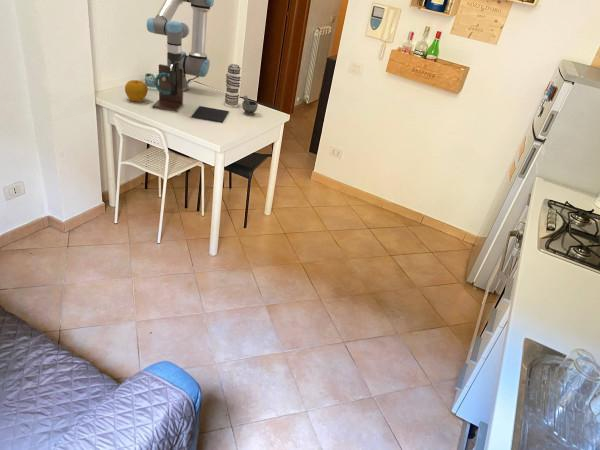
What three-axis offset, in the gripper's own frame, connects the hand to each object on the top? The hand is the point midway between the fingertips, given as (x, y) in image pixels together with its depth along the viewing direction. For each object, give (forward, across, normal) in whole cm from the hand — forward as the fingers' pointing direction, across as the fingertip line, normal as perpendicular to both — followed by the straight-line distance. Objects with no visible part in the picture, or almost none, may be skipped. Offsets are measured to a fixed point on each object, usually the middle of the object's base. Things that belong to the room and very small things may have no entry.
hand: (174, 94), depth 249 cm
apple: (+9, -6, -24) cm, 27 cm away
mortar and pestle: (+9, -16, +42) cm, 46 cm away
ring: (-5, 0, -5) cm, 7 cm away
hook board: (+9, -5, -5) cm, 12 cm away
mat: (+9, -3, +21) cm, 23 cm away
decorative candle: (+9, -28, +29) cm, 41 cm away
